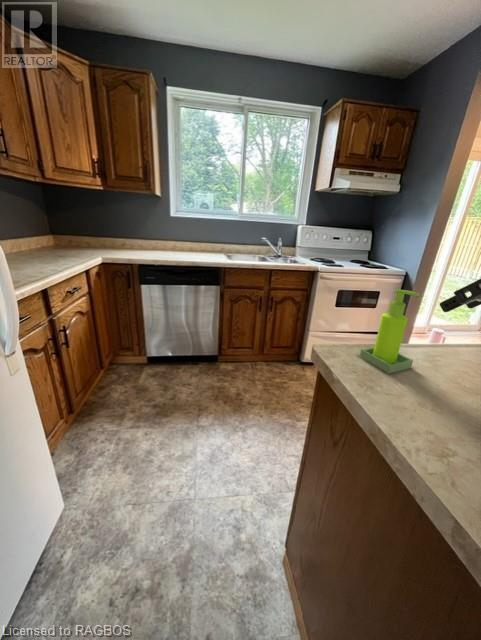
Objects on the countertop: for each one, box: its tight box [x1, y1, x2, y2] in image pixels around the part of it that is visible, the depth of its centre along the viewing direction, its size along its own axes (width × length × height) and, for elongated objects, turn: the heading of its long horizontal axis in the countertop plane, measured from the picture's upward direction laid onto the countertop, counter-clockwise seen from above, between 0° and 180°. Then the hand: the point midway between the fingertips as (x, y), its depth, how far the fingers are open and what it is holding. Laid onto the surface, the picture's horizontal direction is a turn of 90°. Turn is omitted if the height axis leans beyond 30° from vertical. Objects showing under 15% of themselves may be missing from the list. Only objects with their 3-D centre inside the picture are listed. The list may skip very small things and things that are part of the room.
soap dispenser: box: [373, 288, 421, 365], centre depth 71 cm, size 6×7×20 cm
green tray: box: [359, 346, 414, 374], centre depth 74 cm, size 10×8×2 cm
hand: (455, 306), depth 57 cm, fingers open, 8 cm apart
